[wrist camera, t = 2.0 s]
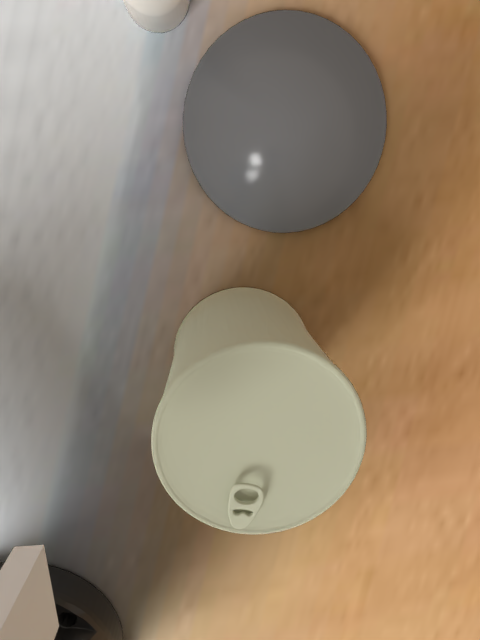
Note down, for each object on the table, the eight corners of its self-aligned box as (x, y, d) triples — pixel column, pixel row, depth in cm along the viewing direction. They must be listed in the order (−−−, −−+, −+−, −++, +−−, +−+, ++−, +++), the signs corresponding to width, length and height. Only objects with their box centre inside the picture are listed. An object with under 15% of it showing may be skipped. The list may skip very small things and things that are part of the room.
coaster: (190, 235, 27) (189, 236, 26) (176, 16, 23) (175, 11, 23) (377, 228, 27) (381, 228, 27) (388, 13, 24) (392, 8, 23)
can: (163, 403, 29) (131, 530, 18) (187, 274, 27) (168, 322, 16) (291, 424, 30) (339, 557, 19) (324, 301, 28) (401, 366, 17)
